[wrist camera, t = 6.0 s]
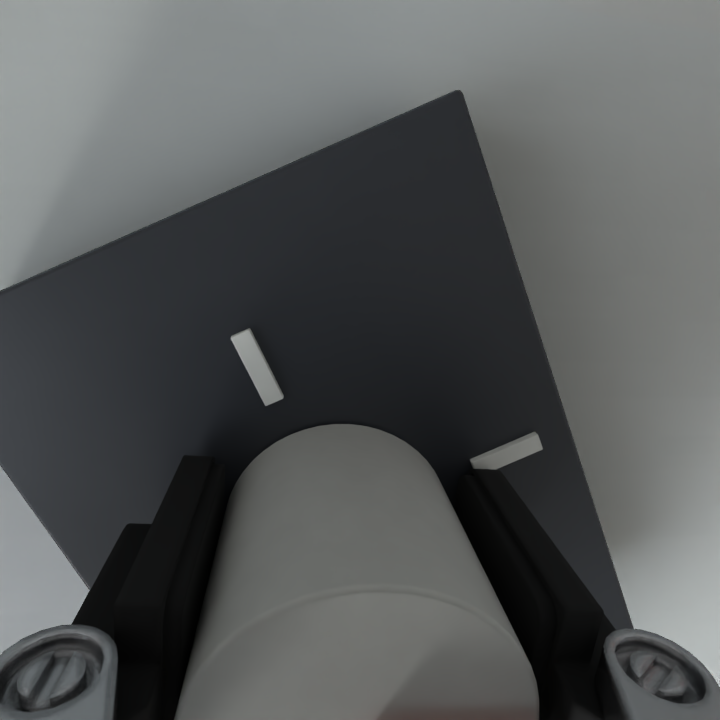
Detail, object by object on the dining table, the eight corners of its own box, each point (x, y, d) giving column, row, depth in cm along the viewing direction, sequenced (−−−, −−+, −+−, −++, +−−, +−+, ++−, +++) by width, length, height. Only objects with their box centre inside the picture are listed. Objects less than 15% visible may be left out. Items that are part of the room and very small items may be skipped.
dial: (219, 615, 11) (160, 911, 6) (230, 414, 10) (167, 602, 5) (429, 618, 12) (513, 894, 7) (463, 430, 10) (592, 611, 6)
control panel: (0, 301, 12) (-105, 335, 9) (422, 115, 12) (465, 84, 9) (261, 707, 16) (252, 829, 13) (580, 573, 15) (648, 663, 12)
